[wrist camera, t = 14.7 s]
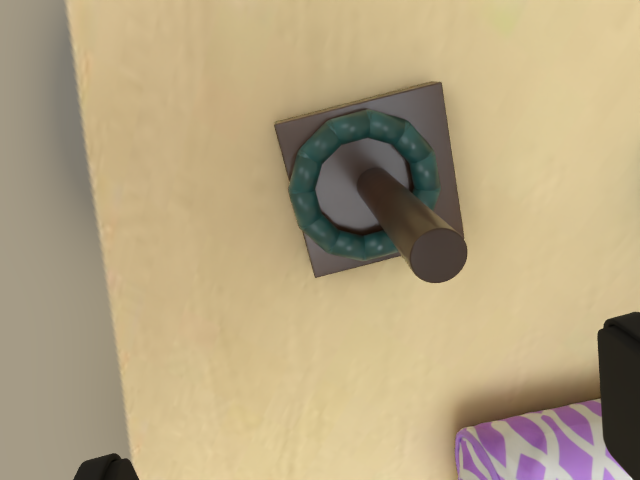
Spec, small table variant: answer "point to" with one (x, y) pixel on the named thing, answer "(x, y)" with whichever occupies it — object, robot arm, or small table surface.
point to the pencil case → (539, 447)
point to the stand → (385, 186)
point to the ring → (325, 145)
